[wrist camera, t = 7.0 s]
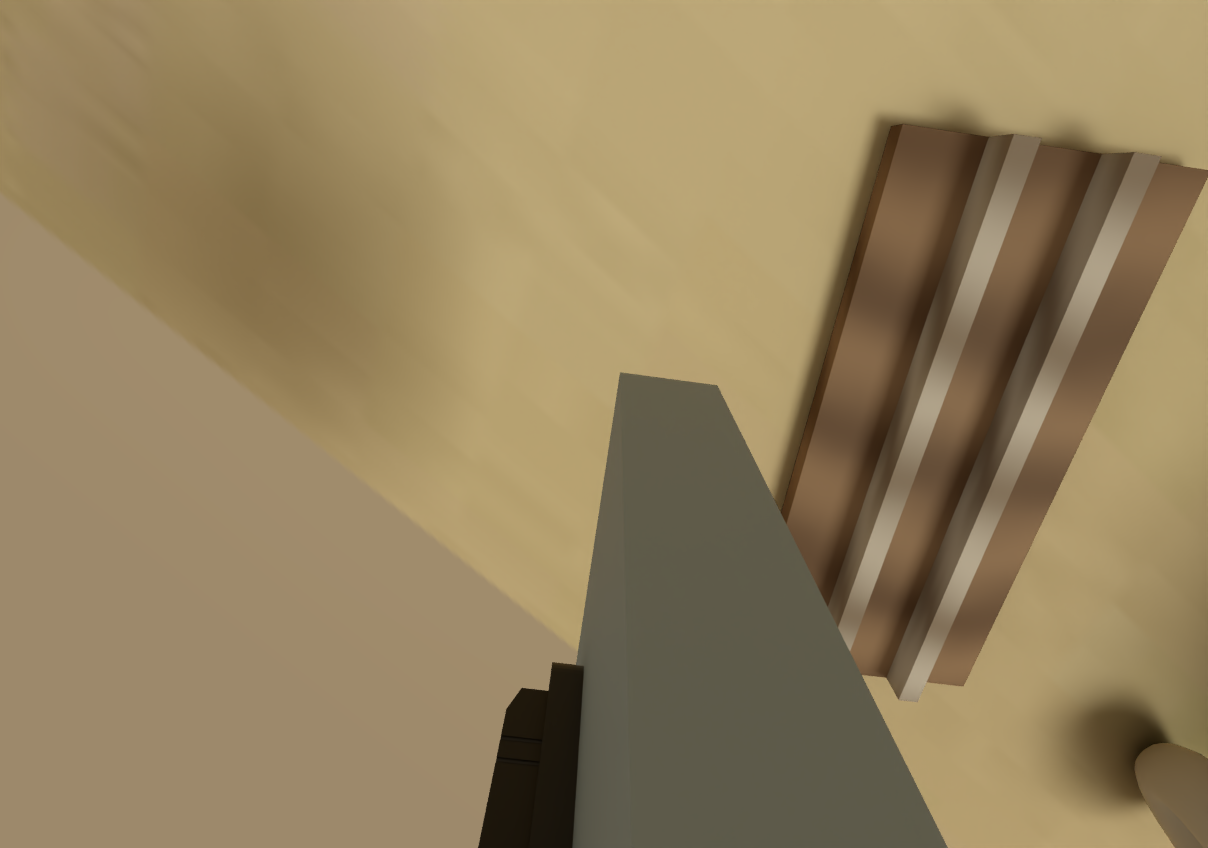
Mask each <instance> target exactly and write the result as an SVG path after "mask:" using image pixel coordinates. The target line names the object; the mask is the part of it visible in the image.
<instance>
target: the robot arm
mask: <svg viewBox="0 0 1208 848" xmlns="http://www.w3.org/2000/svg"><path fill="white" fill-rule="evenodd" d="M583 676H584V666H580V665H572V664H563V663H555V662H553V663H552V669H551V677H550V684H549V691H544V690H535V689H526V688H522V689H521V690H520V691H519V693H518V694H517V695H516V697H515V698H514V699H513V701H512V702H511V704H510V705H509V706H508V708H507V709H506V714H505V719H504V724H503V729H502V734H501V740H500V743H499V749H498V753H497V759H496V763H495V768H494V773H493V778H492V783H491V788H490V792H489V798H488V802H487V807H486V813H485V818H484V822H483V827H482V832H481V837H480V842H479V846H478V848H572V846H573V831H574V815H575V800H576V785H577V769H578V754H579V738H580V723H581V707H582V692H583Z"/></svg>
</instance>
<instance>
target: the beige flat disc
mask: <svg viewBox="0 0 1208 848" xmlns="http://www.w3.org/2000/svg"><path fill="white" fill-rule="evenodd" d="M1134 770H1135V774H1136V778H1137V782H1138V786H1139V789H1140V791H1141V793H1142V795H1143V797H1144V799H1145V801H1146V803H1147V805H1148V806H1149V808H1150V810H1151V811H1152V813H1153V815H1154V816H1155V818H1156V820H1157V821H1158V823H1159V824H1160V826H1161V827H1162V829H1163V830H1164V832H1165V833H1166V835H1167V836H1168V838H1169V839H1170V841H1171V842H1172V844H1173V845H1174V847H1175V848H1208V759H1207V758H1206V757H1204V756H1203V755H1201V754H1199V753H1197V752H1194V751H1192V750H1189V749H1187V748H1184V747H1182V746H1179V745H1176V744H1170V743H1159V744H1153V745H1151V746H1149V747H1148V748H1146V749H1144V750H1143V751H1142V752H1141V753H1140V754H1139V756H1138V757H1137V759H1136V761H1135V767H1134Z"/></svg>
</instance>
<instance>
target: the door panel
mask: <svg viewBox="0 0 1208 848" xmlns="http://www.w3.org/2000/svg"><path fill="white" fill-rule="evenodd" d="M576 665H580V666H584V676H583V692H582V707H581V723H580V738H579V754H578V769H577V785H576V800H575V815H574V831H573V846H572V848H948V847H947V845H946V843H945V841H944V839H943V837H942V835H941V833H940V831H939V829H938V827H937V825H936V823H935V821H934V819H933V817H932V815H931V813H930V811H929V809H928V807H927V805H926V803H925V801H924V799H923V797H922V795H921V793H920V791H919V789H918V787H917V785H916V783H915V781H914V779H913V777H912V775H911V773H910V771H909V769H908V767H907V765H906V763H905V761H904V759H903V757H902V755H901V753H900V751H899V749H898V747H897V745H896V743H895V741H894V739H893V737H892V735H891V733H890V731H889V729H888V727H887V725H886V723H885V721H884V719H883V717H882V715H881V713H880V711H879V709H878V707H877V705H876V703H875V701H874V699H873V697H872V695H871V693H870V691H869V689H868V687H867V685H866V683H865V681H864V679H863V677H862V675H861V673H860V671H859V669H858V667H857V665H856V663H855V661H854V659H853V657H852V655H851V653H850V651H849V649H848V647H847V645H846V643H845V641H844V639H843V637H842V635H841V633H840V631H839V629H838V627H837V625H836V623H835V621H834V619H833V617H832V615H831V613H830V611H829V609H828V607H827V605H826V603H825V601H824V599H823V597H822V595H821V593H820V591H819V589H818V587H817V585H816V583H815V581H814V579H813V577H812V575H811V573H810V571H809V569H808V567H807V565H806V563H805V561H804V559H803V557H802V555H801V553H800V551H799V549H798V547H797V545H796V543H795V541H794V538H793V536H792V534H791V532H790V530H789V528H788V526H787V524H786V522H785V520H784V518H783V516H782V514H781V512H780V510H779V508H778V506H777V504H776V502H775V500H774V498H773V496H772V494H771V492H770V490H769V488H768V486H767V484H766V482H765V480H764V478H763V476H762V474H761V472H760V470H759V468H758V466H757V464H756V462H755V460H754V458H753V456H752V454H751V452H750V450H749V448H748V446H747V444H746V442H745V440H744V438H743V436H742V434H741V432H740V430H739V428H738V426H737V424H736V422H735V420H734V418H733V416H732V414H731V412H730V410H729V408H728V406H727V404H726V402H725V400H724V398H723V396H722V394H721V392H720V390H719V388H718V386H717V385H710V384H702V383H695V382H688V381H680V380H673V379H665V378H658V377H650V376H643V375H635V374H628V373H620V377H619V383H618V390H617V397H616V403H615V410H614V417H613V423H612V430H611V436H610V443H609V450H608V456H607V463H606V470H605V476H604V483H603V490H602V496H601V503H600V509H599V516H598V523H597V529H596V536H595V543H594V549H593V556H592V563H591V569H590V576H589V582H588V589H587V596H586V602H585V609H584V616H583V622H582V629H581V635H580V642H579V649H578V656H577V662H576Z"/></svg>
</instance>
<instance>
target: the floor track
mask: <svg viewBox="0 0 1208 848" xmlns="http://www.w3.org/2000/svg"><path fill="white" fill-rule="evenodd" d="M1041 139H1042V138H1037V137H1030V136H1024V135H1017V134H1010V135H1002V136H994V137H985V136H978V135H972V134H965V133H958V132H952V131H945V130H939V129H932V128H925V127H919V126H912V125H906V124H901V125H896V126H891V129H890V132H889V136H888V139H887V143H886V146H885V150H884V153H883V157H882V160H881V164H880V167H879V171H878V174H877V178H876V181H875V185H874V188H873V192H872V195H871V199H870V202H869V206H868V209H867V213H866V216H865V220H864V224H863V227H862V231H861V234H860V238H859V241H858V245H857V248H856V252H855V255H854V259H853V262H852V266H851V269H850V273H849V276H848V280H847V283H846V287H845V290H844V294H843V297H842V301H841V304H840V308H839V311H838V315H837V318H836V322H835V325H834V329H833V332H832V336H831V340H830V343H829V347H828V350H827V354H826V357H825V361H824V364H823V368H822V371H821V375H820V378H819V382H818V385H817V389H816V392H815V396H814V399H813V403H812V406H811V410H810V413H809V417H808V420H807V424H806V427H805V431H804V434H803V438H802V441H801V445H800V449H799V452H798V456H797V459H796V463H795V466H794V470H793V473H792V477H791V480H790V484H789V487H788V491H787V494H786V498H785V501H784V505H783V508H782V512H781V514H782V516H783V518H784V520H785V522H786V524H787V526H788V528H789V530H790V532H791V534H792V536H793V538H794V541H795V543H796V545H797V547H798V549H799V551H800V553H801V555H802V557H803V559H804V561H805V563H806V565H807V567H808V569H809V571H810V573H811V575H812V577H813V579H814V581H815V583H816V585H817V587H818V589H819V591H820V593H821V595H822V597H823V599H824V601H825V603H826V605H827V607H828V609H829V611H830V613H831V615H832V617H833V619H834V621H835V623H836V625H837V627H838V629H839V631H840V633H841V635H842V637H843V639H844V641H845V643H846V645H847V647H848V649H849V651H850V653H851V655H852V657H853V659H854V661H855V663H856V665H857V667H858V669H859V671H860V673H861V675H868V676H877V677H886V678H887V680H888V681H889V683H890V685H891V687H892V689H893V690H894V692H895V694H896V696H897V698H898V699H899V700H903V701H912V702H918V700H919V698H920V696H921V693H922V691H923V689H924V687H925V684H926V682H930V683H938V684H947V685H956V686H964V684H965V682H966V680H967V678H968V676H969V674H970V672H971V669H972V667H973V665H974V663H975V661H976V659H977V657H978V655H979V653H980V651H981V649H982V647H983V644H984V642H985V640H986V638H987V636H988V634H989V632H990V630H991V628H992V626H993V624H994V622H995V619H996V617H997V615H998V613H999V611H1000V609H1001V607H1002V605H1003V603H1004V601H1005V599H1006V597H1007V594H1008V592H1009V590H1010V588H1011V586H1012V584H1013V582H1014V580H1015V578H1016V576H1017V574H1018V572H1019V569H1020V567H1021V565H1022V563H1023V561H1024V559H1025V557H1026V555H1027V553H1028V551H1029V549H1030V547H1031V544H1032V542H1033V540H1034V538H1035V536H1036V534H1037V532H1038V530H1039V528H1040V526H1041V524H1042V522H1043V519H1044V517H1045V515H1046V513H1047V511H1048V509H1049V507H1050V505H1051V503H1052V501H1053V499H1054V497H1055V494H1056V492H1057V490H1058V488H1059V486H1060V484H1061V482H1062V480H1063V478H1064V476H1065V474H1066V472H1067V469H1068V467H1069V465H1070V463H1071V461H1072V459H1073V457H1074V455H1075V453H1076V451H1077V449H1078V447H1079V444H1080V442H1081V440H1082V438H1083V436H1084V434H1085V432H1086V430H1087V428H1088V426H1089V424H1090V422H1091V419H1092V417H1093V415H1094V413H1095V411H1096V409H1097V407H1098V405H1099V403H1100V401H1101V399H1102V397H1103V394H1104V392H1105V390H1106V388H1107V386H1108V384H1109V382H1110V380H1111V378H1112V376H1113V374H1114V372H1115V369H1116V367H1117V365H1118V363H1119V361H1120V359H1121V357H1122V355H1123V353H1124V351H1125V349H1126V347H1127V344H1128V342H1129V340H1130V338H1131V336H1132V334H1133V332H1134V330H1135V328H1136V326H1137V324H1138V322H1139V319H1140V317H1141V315H1142V313H1143V311H1144V309H1145V307H1146V305H1147V303H1148V301H1149V299H1150V297H1151V294H1152V292H1153V290H1154V288H1155V286H1156V284H1157V282H1158V280H1159V278H1160V276H1161V274H1162V272H1163V270H1164V267H1165V265H1166V263H1167V261H1168V259H1169V257H1170V255H1171V253H1172V251H1173V249H1174V247H1175V245H1176V242H1177V240H1178V238H1179V236H1180V234H1181V232H1182V230H1183V228H1184V226H1185V224H1186V222H1187V220H1188V217H1189V215H1190V213H1191V211H1192V209H1193V207H1194V205H1195V203H1196V201H1197V199H1198V197H1199V195H1200V192H1201V190H1202V188H1203V186H1204V184H1205V182H1206V180H1207V178H1208V170H1203V169H1197V168H1190V167H1183V166H1177V165H1170V164H1164V163H1159V161H1160V159H1161V157H1162V156H1156V155H1149V154H1143V153H1136V152H1131V153H1114V154H1097V153H1091V152H1084V151H1078V150H1071V149H1064V148H1058V147H1051V146H1045V145H1039V144H1040V141H1041Z"/></svg>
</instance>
